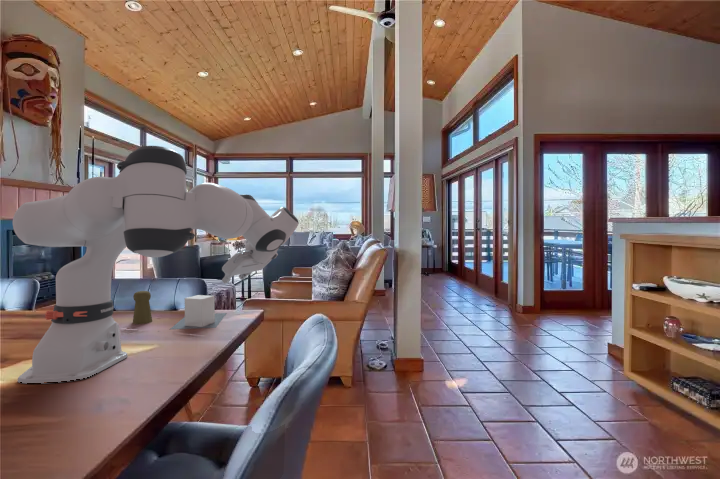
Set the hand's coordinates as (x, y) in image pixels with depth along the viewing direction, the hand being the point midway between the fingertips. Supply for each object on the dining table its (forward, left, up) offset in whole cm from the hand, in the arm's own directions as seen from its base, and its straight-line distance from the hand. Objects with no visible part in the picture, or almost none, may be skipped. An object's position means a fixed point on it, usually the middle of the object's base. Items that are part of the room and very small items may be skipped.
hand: (232, 279), depth 129 cm
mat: (+10, +12, -16) cm, 22 cm away
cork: (+11, +31, -16) cm, 37 cm away
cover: (+5, +11, -15) cm, 20 cm away
